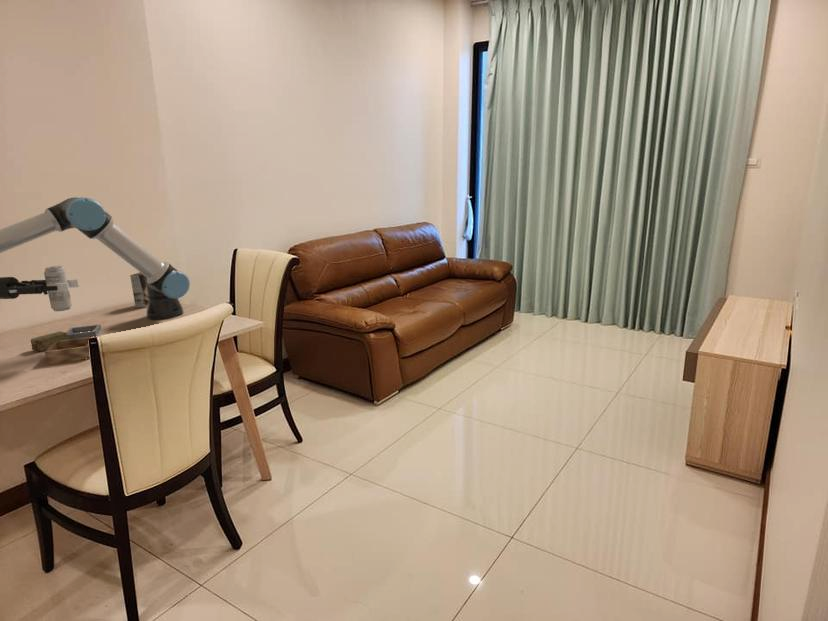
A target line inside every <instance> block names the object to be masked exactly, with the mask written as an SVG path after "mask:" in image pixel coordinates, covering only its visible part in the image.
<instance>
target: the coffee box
mask: <svg viewBox="0 0 828 621" xmlns="http://www.w3.org/2000/svg"><path fill="white" fill-rule="evenodd" d="M129 277H130V281H131V282H130V283H131V289H132V295H133V300H134V301H133V302H134V308H143V309H144V308H145V307H146V308H147V307H148V302H149V299H148V293H147V287H146V282H145V276H144V275H143V274H142V273H140V272H137V273H133V274H130V275H129Z"/></svg>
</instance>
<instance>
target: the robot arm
mask: <svg viewBox="0 0 828 621" xmlns="http://www.w3.org/2000/svg"><path fill="white" fill-rule="evenodd" d="M70 229H77V230H78V231H79V232H80V233H81V234H83V235H84V236H85V237H87V238H88V239H91V240H95V239H96V240H98V241H99V242H100V243H101V244H103V245H104V246H105V247H107V248H108V249H109V250H111V252H114V253H115V254H116V256H118V257H120V258H121V259H122V260H124V261H125V262H126V263H128V264H129V265H130V266H131V267H133V268H134V269H135V270H136V271H138V273H142V274H143V275H144V276H145V282H146V287H147V293H148V299H149V302H148V307H146V317H147V318H148V319H150V320H165V318H166V319H171V318H176V317H179V316H182V315H183V314H184V308H183V305H182V303H181V302H180V300H179V299H180V298H183V296H185V295H186V294H187V293H188V292H189V290H190V285H191V283H190V282H191V281H190V279H189V277H188V276H187V274H185V273H184V272H183V271H179V270H178V269H176V268H175V267H174V266H173V265H172V264H171V263H169V262H168V261H161V260H159V259H158V258H157V257H156V256H155V255H153V254H152V253H151V251H150V252H149V251H148V250H147V249H146V248H145V247H143V246H142V245H141V244H140V243H139V242H137V240H135V239H134V238H132V237H131V236H130V235H129V234H127V233H126V232H125V231H124V230H123V229H122V228H120V227H119V226H118V225H117V224H115V223H114V218H113V216H112V215H110V214H109V213H108V211H107V212H106V211H105V209H104V207H103V206H102V205H101V204H100V203H99V202H98V201H96V200H95V199H92V198H88V197H84V196H83V197H69V198H67V199H64V200H63V201H60V202H59V203H56V204H55V205H52V206H49V207H48V208H45V209H44V212H42V213H40V214H37V215H35V216H32V217H29V218H27V219H24V220H22V221H19V222H16V223H13V224H11V225H9V226H6V227H3V228H1V229H0V254H2V253H4V252H8V251H9V250H12V249H14V248H17V247H20V246H22V245H24V244H27V243H29V242H32V241H34V240H36V239H40V238H41V237H44V236H47V235H49V234H51V233H54V232H59V233H61V232H65V231H66V230H70ZM80 287H81V286H80V280H79V279H78V278H77V279H76V278H75V279H74V278H73V279H67V283H58V284H47V285H46V281H45V279H31V280H21V281H19V280H18V279H17V278H16V277H15V276H2V277H1V276H0V300H14V299H15V300H16V299H17V298H18V297H19V296H20V295H41V294H43V295H44V296H46V295H48V292H64V291H69V292H71V289H70V288H80Z"/></svg>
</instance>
